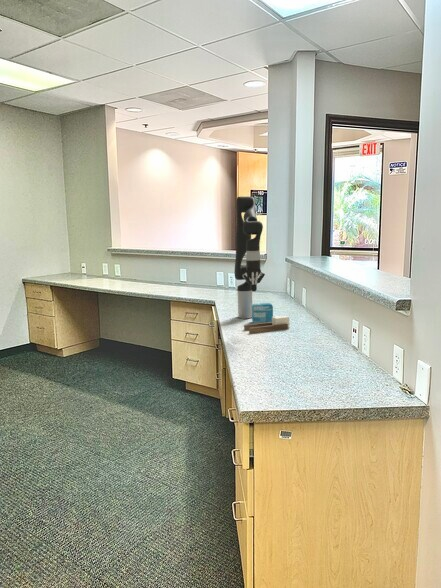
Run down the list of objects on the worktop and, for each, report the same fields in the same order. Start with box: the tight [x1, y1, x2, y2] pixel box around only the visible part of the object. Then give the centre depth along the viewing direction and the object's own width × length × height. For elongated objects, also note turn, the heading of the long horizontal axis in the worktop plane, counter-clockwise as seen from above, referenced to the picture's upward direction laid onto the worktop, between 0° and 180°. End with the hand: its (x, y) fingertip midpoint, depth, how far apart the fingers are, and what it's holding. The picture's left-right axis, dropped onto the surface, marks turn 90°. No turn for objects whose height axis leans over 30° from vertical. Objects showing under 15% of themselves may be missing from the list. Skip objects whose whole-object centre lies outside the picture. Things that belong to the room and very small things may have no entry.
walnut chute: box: [243, 322, 289, 335], centre depth 230 cm, size 10×22×4 cm, turn 108°
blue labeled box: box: [251, 302, 274, 324], centre depth 248 cm, size 12×4×12 cm, turn 89°
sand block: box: [272, 315, 290, 329], centre depth 232 cm, size 5×8×6 cm, turn 108°
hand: (253, 291), depth 228 cm, fingers closed
